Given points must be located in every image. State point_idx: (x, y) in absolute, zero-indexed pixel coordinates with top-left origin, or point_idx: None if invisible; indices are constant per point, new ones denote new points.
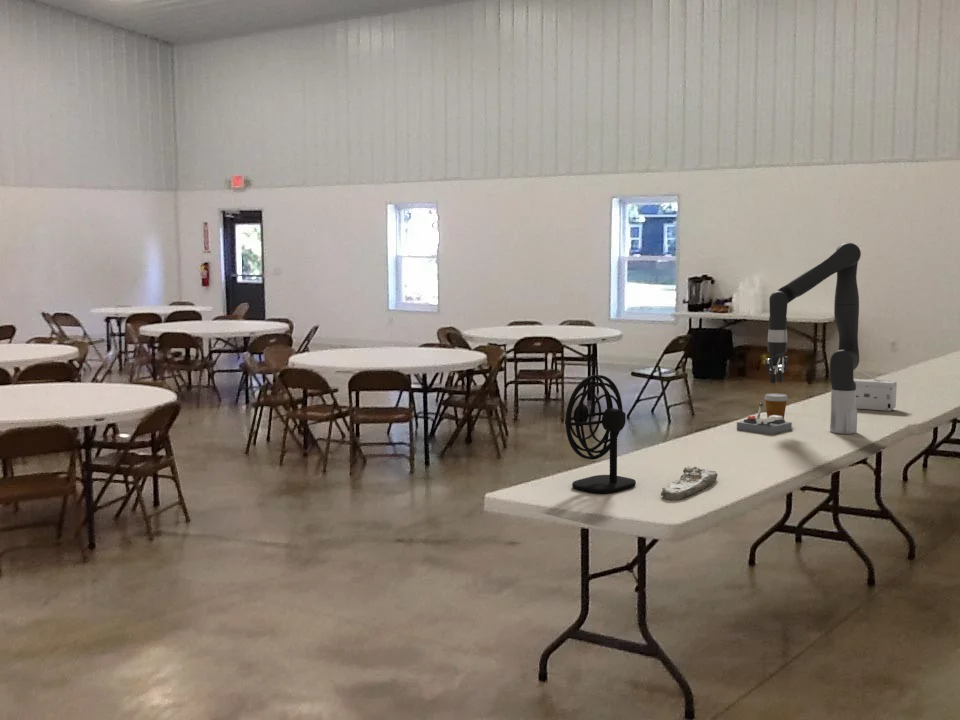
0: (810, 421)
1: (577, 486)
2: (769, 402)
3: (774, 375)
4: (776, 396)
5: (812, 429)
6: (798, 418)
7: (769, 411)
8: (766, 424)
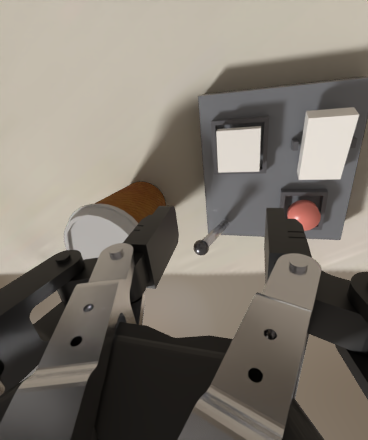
0: (45, 147)
1: None
2: None
3: (290, 253)
4: (127, 233)
5: (137, 42)
6: (46, 195)
7: None
8: None
